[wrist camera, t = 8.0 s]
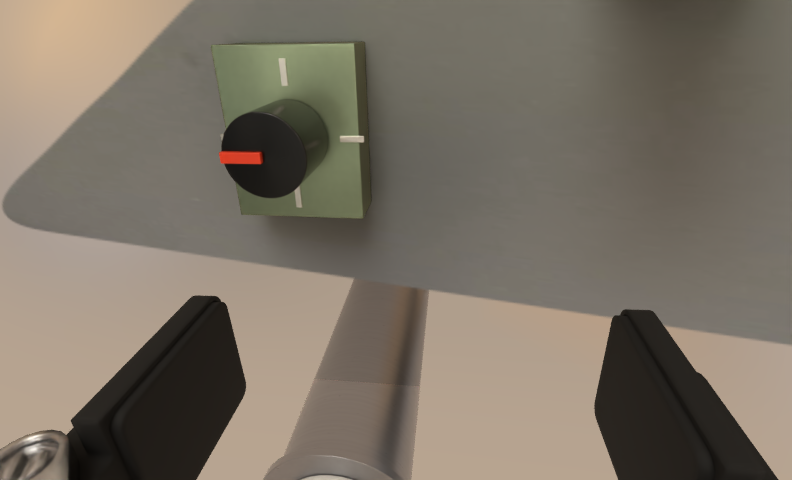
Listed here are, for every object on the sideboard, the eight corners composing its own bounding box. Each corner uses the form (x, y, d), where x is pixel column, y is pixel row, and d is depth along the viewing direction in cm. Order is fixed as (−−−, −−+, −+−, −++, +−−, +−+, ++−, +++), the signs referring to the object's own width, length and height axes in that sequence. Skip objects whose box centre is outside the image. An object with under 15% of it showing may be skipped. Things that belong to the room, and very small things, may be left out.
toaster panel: (375, 202, 30) (367, 220, 27) (255, 198, 31) (235, 215, 28) (369, 41, 26) (359, 43, 23) (230, 43, 27) (203, 45, 24)
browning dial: (325, 98, 24) (299, 113, 20) (331, 175, 26) (309, 202, 22) (249, 98, 25) (209, 112, 21) (261, 173, 27) (226, 199, 23)
